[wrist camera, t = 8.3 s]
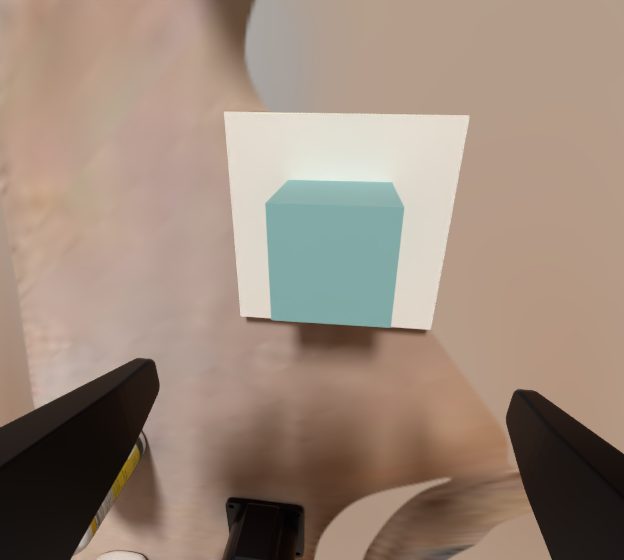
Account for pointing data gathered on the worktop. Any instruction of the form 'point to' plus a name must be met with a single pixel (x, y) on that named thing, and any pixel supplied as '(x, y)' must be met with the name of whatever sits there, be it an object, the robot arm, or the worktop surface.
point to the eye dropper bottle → (121, 556)
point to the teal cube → (334, 251)
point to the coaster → (348, 167)
